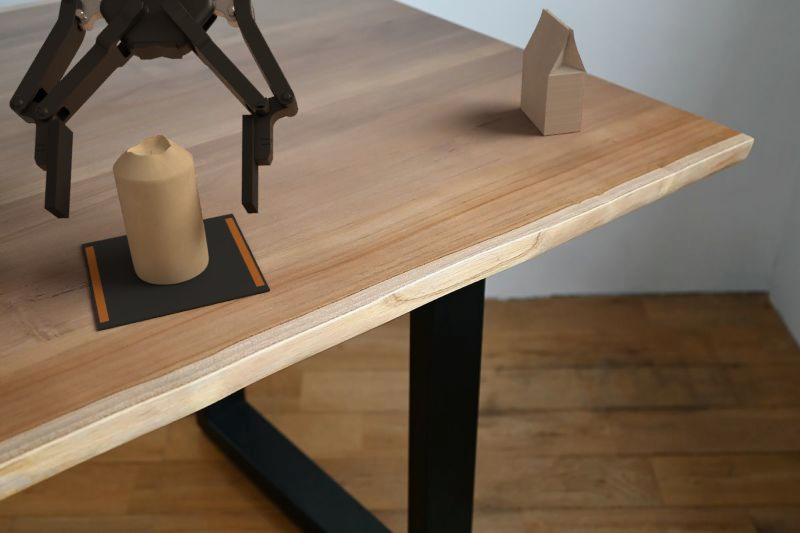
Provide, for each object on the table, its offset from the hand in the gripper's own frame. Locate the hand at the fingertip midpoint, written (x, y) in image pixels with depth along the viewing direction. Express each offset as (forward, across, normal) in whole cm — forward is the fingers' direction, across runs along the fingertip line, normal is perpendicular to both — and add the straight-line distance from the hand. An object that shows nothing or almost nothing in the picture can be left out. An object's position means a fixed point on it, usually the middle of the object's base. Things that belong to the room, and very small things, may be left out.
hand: (153, 211), depth 64 cm
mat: (+3, 0, -5) cm, 6 cm away
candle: (+3, 0, -5) cm, 6 cm away
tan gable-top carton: (-14, -33, -22) cm, 42 cm away
